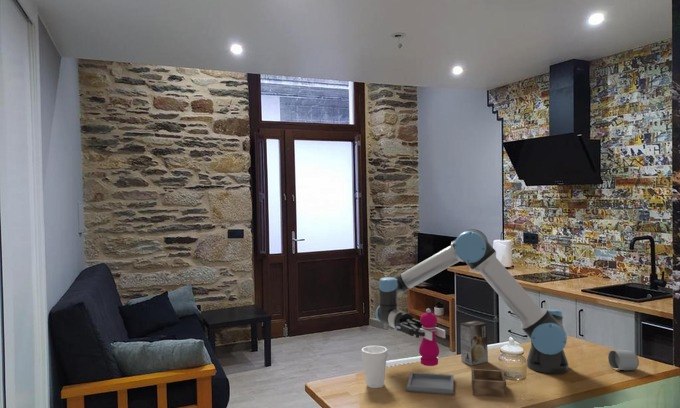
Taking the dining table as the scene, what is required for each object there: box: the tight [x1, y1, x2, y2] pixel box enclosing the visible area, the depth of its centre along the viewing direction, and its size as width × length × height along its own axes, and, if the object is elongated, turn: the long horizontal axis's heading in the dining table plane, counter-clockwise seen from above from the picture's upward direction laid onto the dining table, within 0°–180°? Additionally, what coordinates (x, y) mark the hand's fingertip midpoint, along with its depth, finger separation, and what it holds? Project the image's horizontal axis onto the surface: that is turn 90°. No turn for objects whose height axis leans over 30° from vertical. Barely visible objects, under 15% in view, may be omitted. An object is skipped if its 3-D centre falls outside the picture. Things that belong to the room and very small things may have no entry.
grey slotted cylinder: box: [607, 349, 640, 372], centre depth 183 cm, size 11×8×8 cm
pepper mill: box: [418, 307, 440, 367], centre depth 171 cm, size 7×7×20 cm
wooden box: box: [471, 368, 507, 398], centre depth 166 cm, size 11×11×5 cm
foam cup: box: [361, 345, 388, 389], centre depth 173 cm, size 10×9×13 cm
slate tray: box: [406, 372, 455, 396], centre depth 171 cm, size 16×14×2 cm
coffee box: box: [459, 320, 489, 366], centre depth 194 cm, size 9×6×16 cm
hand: (437, 335), depth 166 cm, fingers closed on pepper mill, 5 cm apart
